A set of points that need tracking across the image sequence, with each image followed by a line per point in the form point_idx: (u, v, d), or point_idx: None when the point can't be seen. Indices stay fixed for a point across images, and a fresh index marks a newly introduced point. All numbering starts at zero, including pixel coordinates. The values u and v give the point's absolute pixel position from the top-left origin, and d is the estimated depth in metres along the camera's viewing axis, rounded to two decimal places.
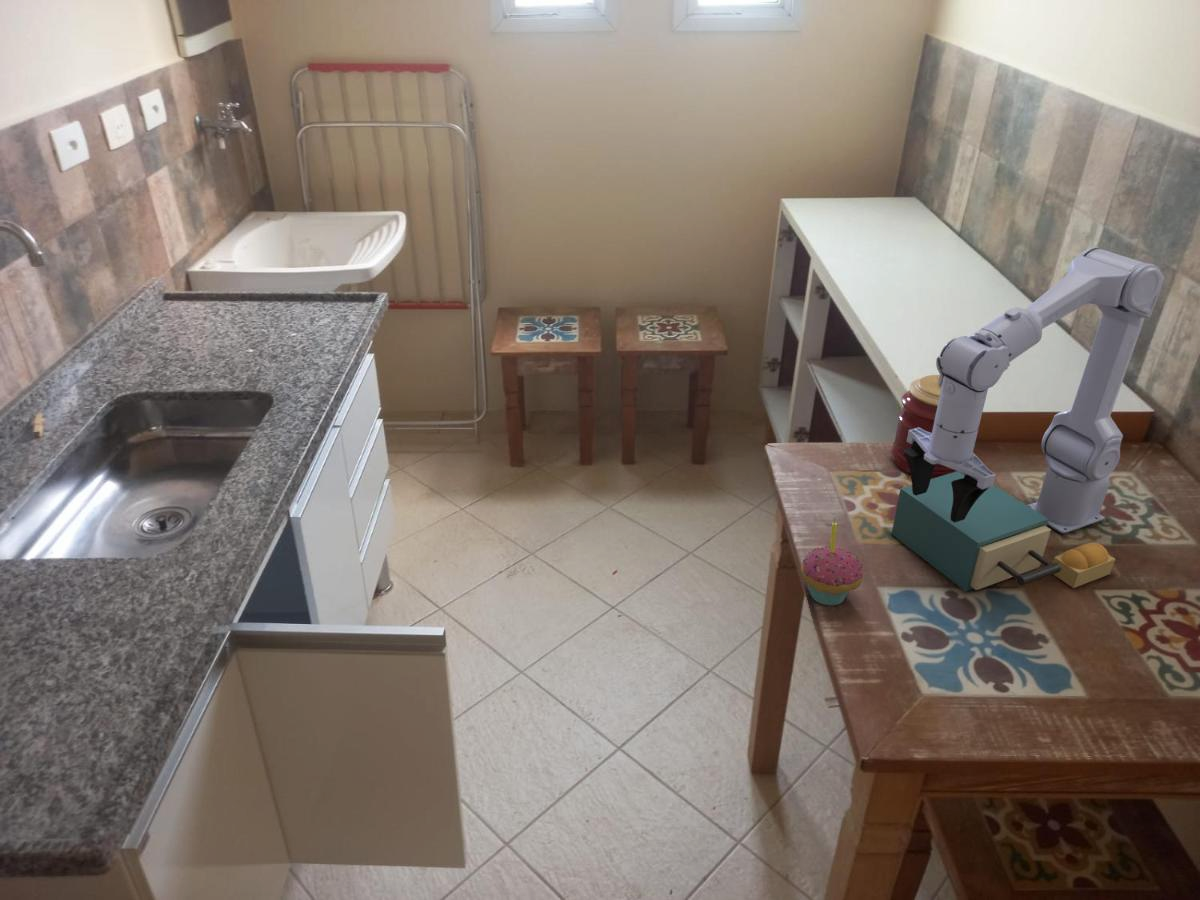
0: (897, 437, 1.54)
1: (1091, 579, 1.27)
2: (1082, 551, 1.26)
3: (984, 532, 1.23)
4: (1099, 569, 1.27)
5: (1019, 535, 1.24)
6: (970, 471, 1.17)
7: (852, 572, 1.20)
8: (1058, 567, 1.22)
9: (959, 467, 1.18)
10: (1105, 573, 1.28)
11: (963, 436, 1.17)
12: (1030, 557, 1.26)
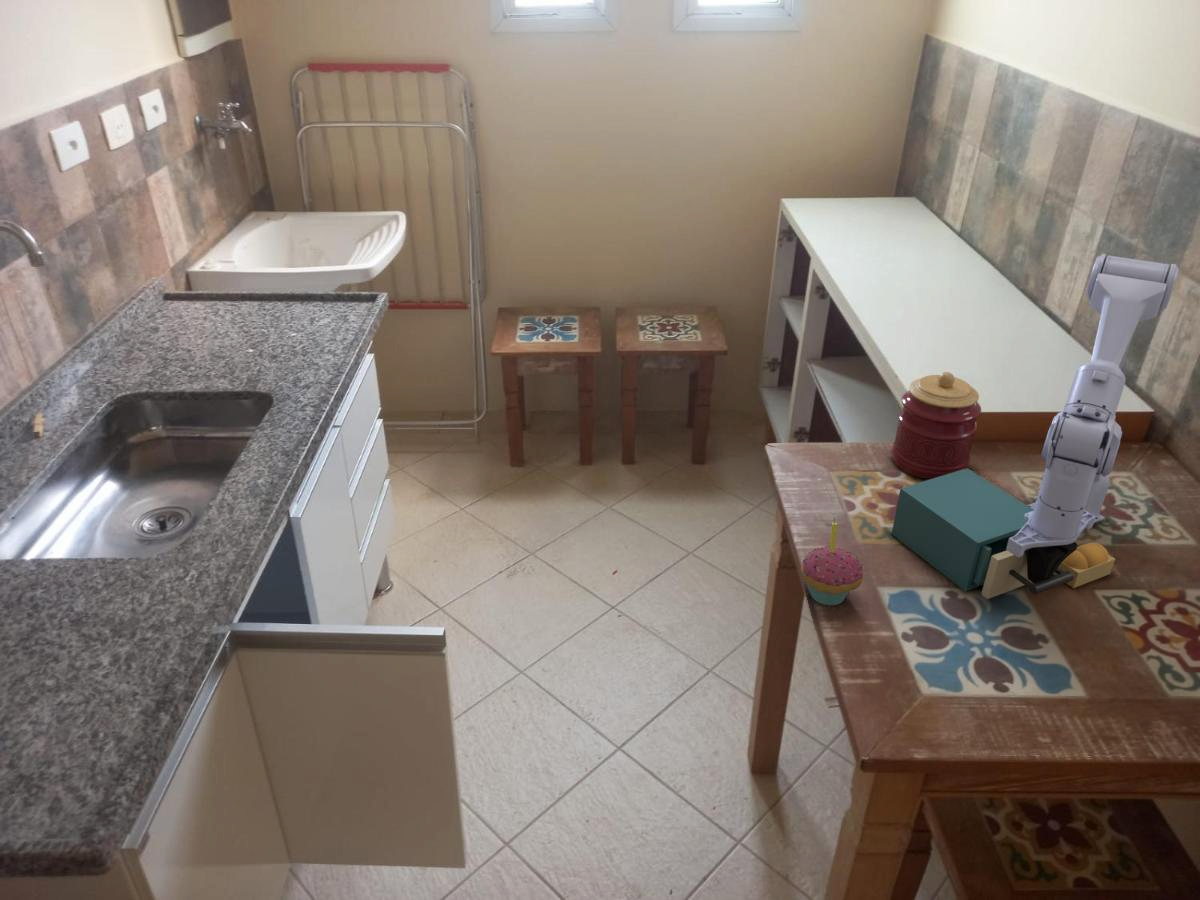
0: (897, 437, 1.54)
1: (1091, 579, 1.27)
2: (1082, 551, 1.26)
3: (984, 532, 1.23)
4: (1099, 569, 1.27)
5: None
6: (1018, 532, 1.16)
7: (852, 572, 1.20)
8: (1071, 576, 1.20)
9: (1022, 528, 1.17)
10: (1105, 573, 1.28)
11: (1039, 502, 1.15)
12: None
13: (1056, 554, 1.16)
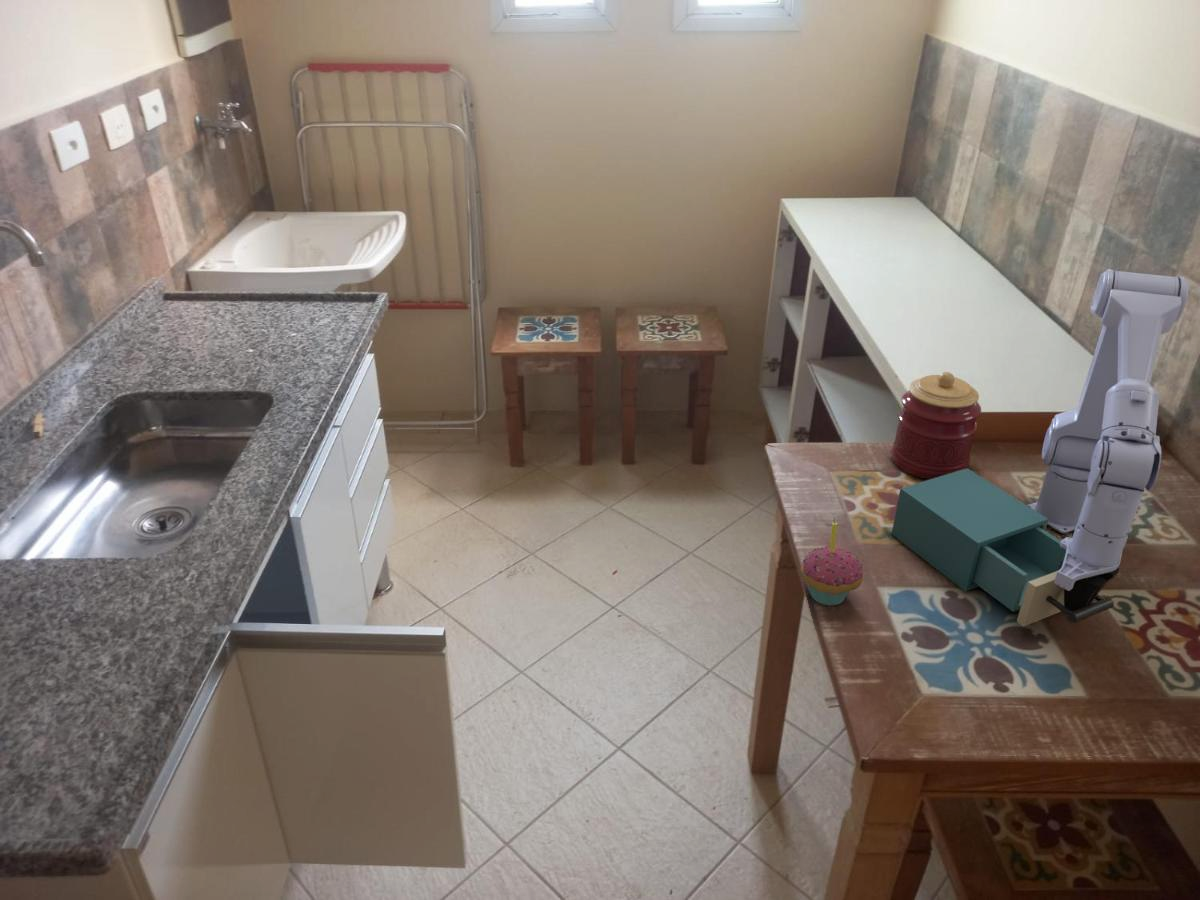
0: (897, 437, 1.54)
1: None
2: None
3: (984, 532, 1.23)
4: None
5: None
6: (1063, 564, 1.11)
7: (852, 572, 1.20)
8: (1111, 603, 1.15)
9: None
10: None
11: (1082, 530, 1.10)
12: None
13: (1101, 583, 1.11)
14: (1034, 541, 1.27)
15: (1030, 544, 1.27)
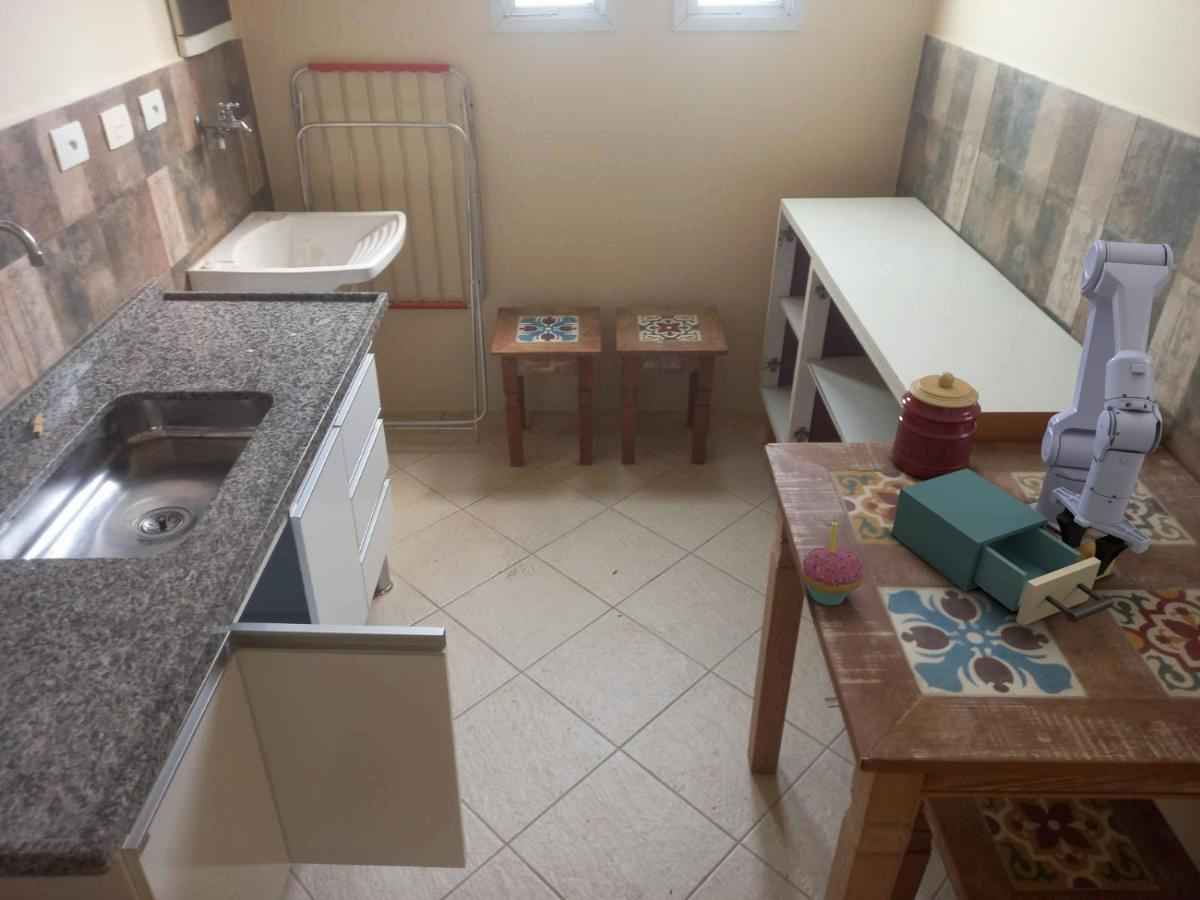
0: (897, 437, 1.54)
1: None
2: (1082, 551, 1.26)
3: (984, 532, 1.23)
4: None
5: (1068, 568, 1.18)
6: (1125, 535, 1.19)
7: (852, 572, 1.20)
8: (1110, 602, 1.15)
9: (1113, 531, 1.20)
10: (1105, 573, 1.28)
11: (1117, 501, 1.19)
12: (1078, 590, 1.20)
13: None
14: (1033, 541, 1.27)
15: (1030, 543, 1.28)
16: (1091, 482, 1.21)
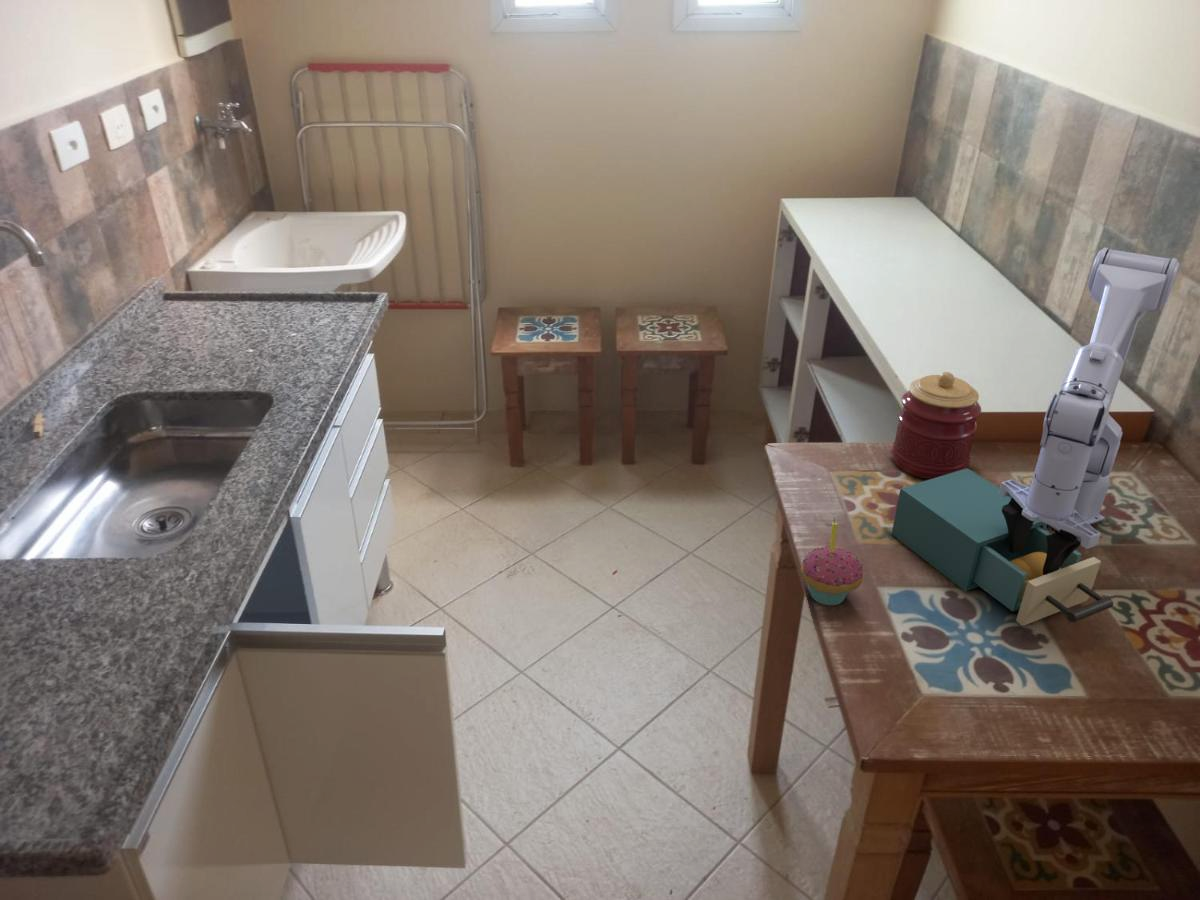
0: (897, 437, 1.54)
1: None
2: (1027, 561, 1.21)
3: (984, 532, 1.23)
4: None
5: (1068, 568, 1.18)
6: (1073, 529, 1.13)
7: (852, 572, 1.20)
8: (1110, 602, 1.15)
9: (1061, 525, 1.14)
10: None
11: (1066, 493, 1.13)
12: (1078, 590, 1.20)
13: None
14: (1033, 541, 1.27)
15: (1030, 543, 1.28)
16: (1036, 469, 1.15)
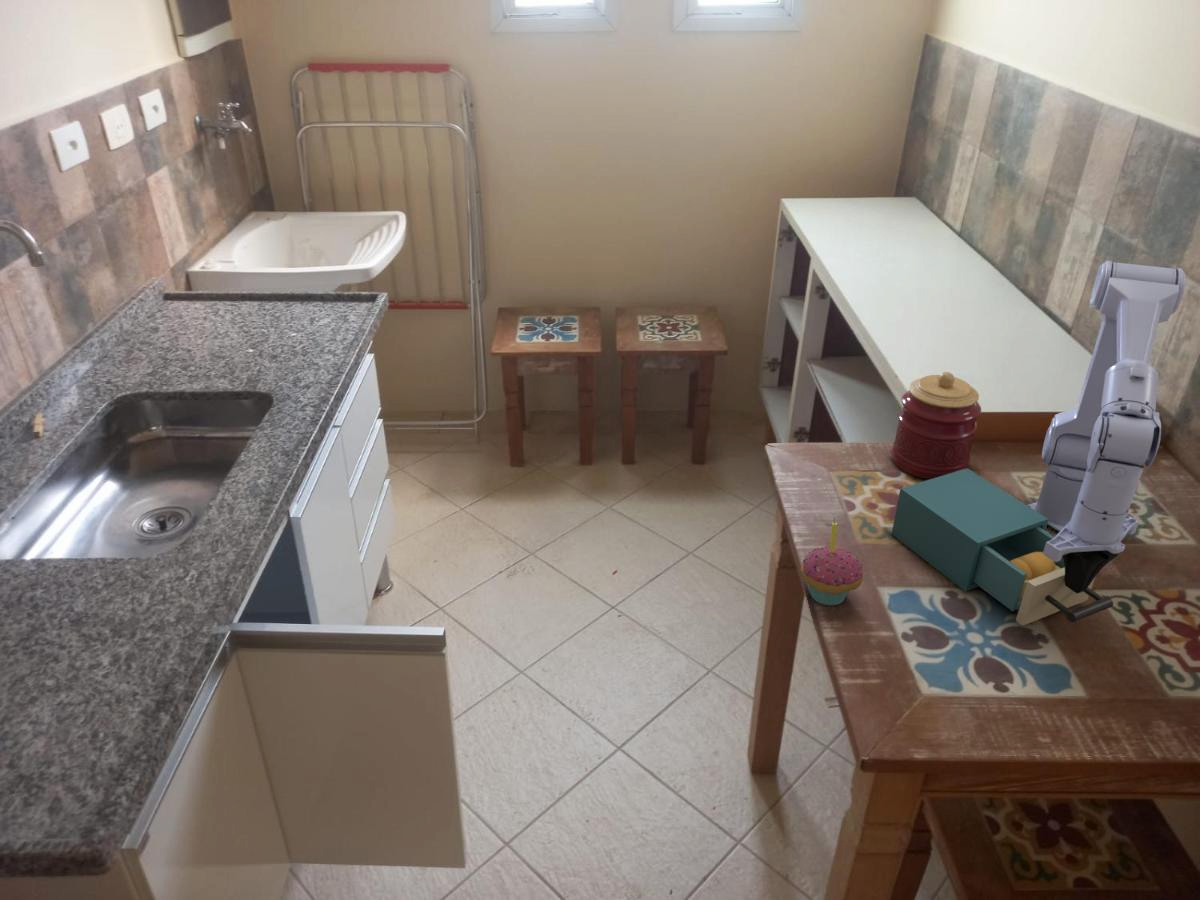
0: (897, 437, 1.54)
1: None
2: (1026, 561, 1.21)
3: (984, 532, 1.23)
4: None
5: None
6: (1130, 527, 1.13)
7: (852, 572, 1.20)
8: (1110, 602, 1.15)
9: (1126, 532, 1.12)
10: None
11: None
12: None
13: None
14: (1033, 541, 1.27)
15: (1030, 543, 1.28)
16: (1082, 495, 1.09)
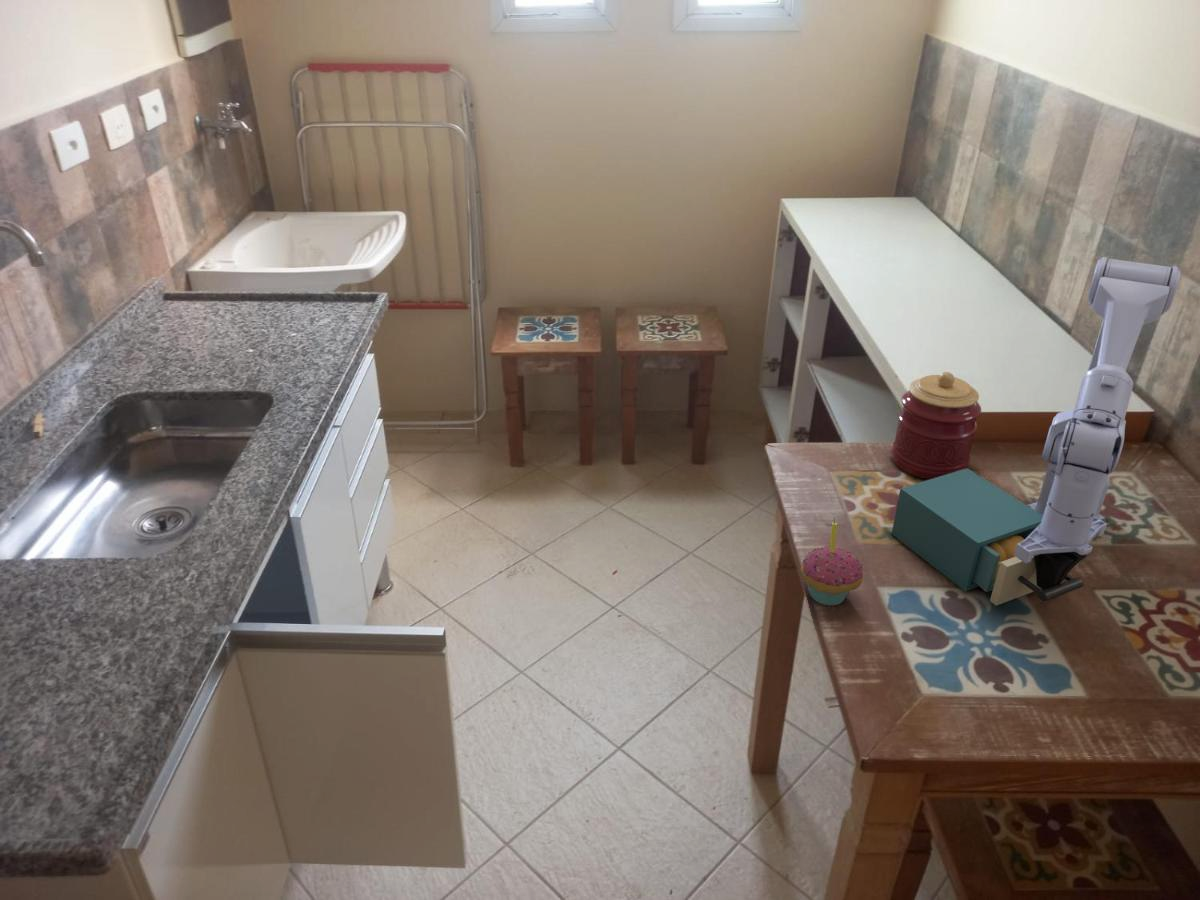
0: (897, 437, 1.54)
1: None
2: (1001, 543, 1.25)
3: (984, 532, 1.23)
4: None
5: None
6: (1098, 529, 1.17)
7: (852, 572, 1.20)
8: (1080, 582, 1.19)
9: (1094, 534, 1.16)
10: None
11: None
12: None
13: None
14: None
15: None
16: (1050, 497, 1.14)
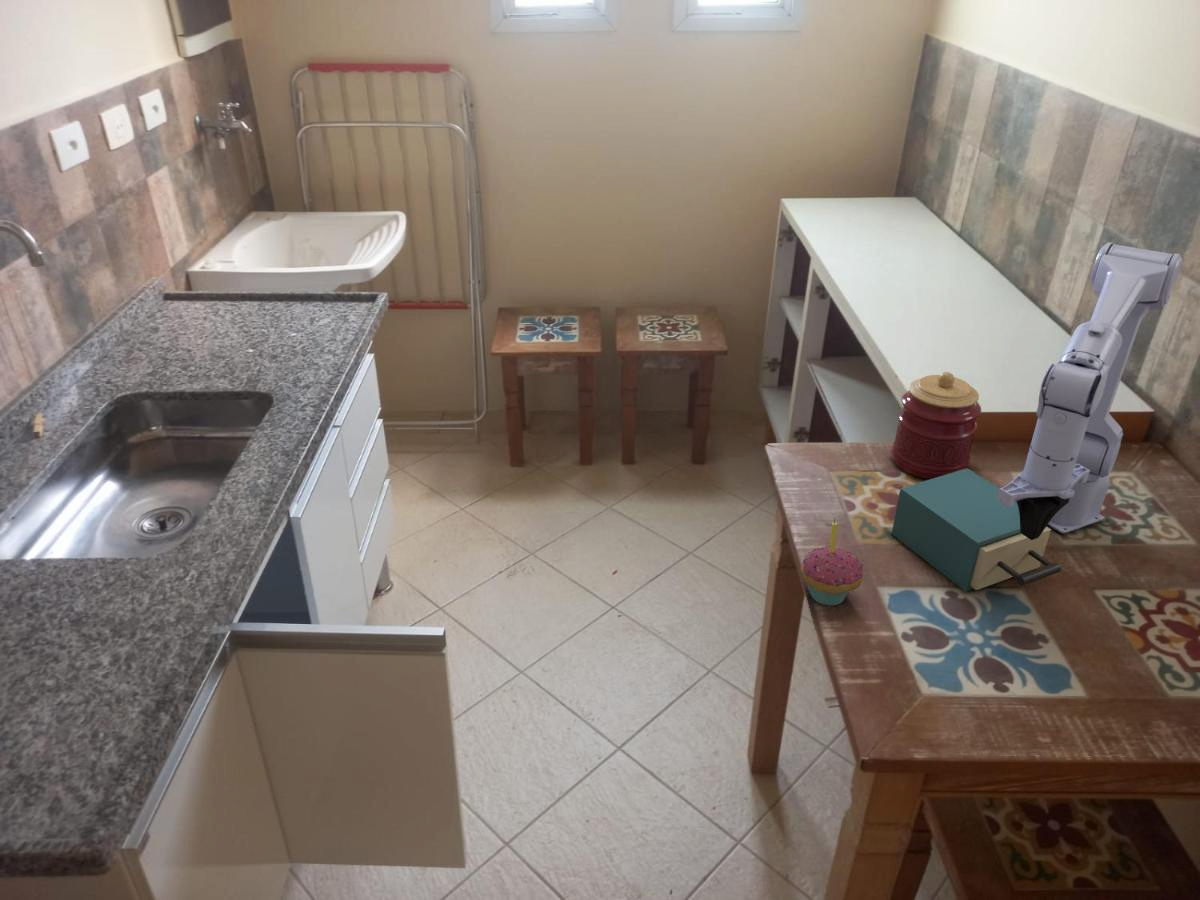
0: (897, 437, 1.54)
1: None
2: None
3: (984, 532, 1.23)
4: None
5: (1019, 535, 1.24)
6: (1081, 475, 1.18)
7: (852, 572, 1.20)
8: (1058, 567, 1.22)
9: (1076, 480, 1.17)
10: None
11: None
12: (1030, 557, 1.26)
13: None
14: None
15: None
16: (1032, 440, 1.15)
